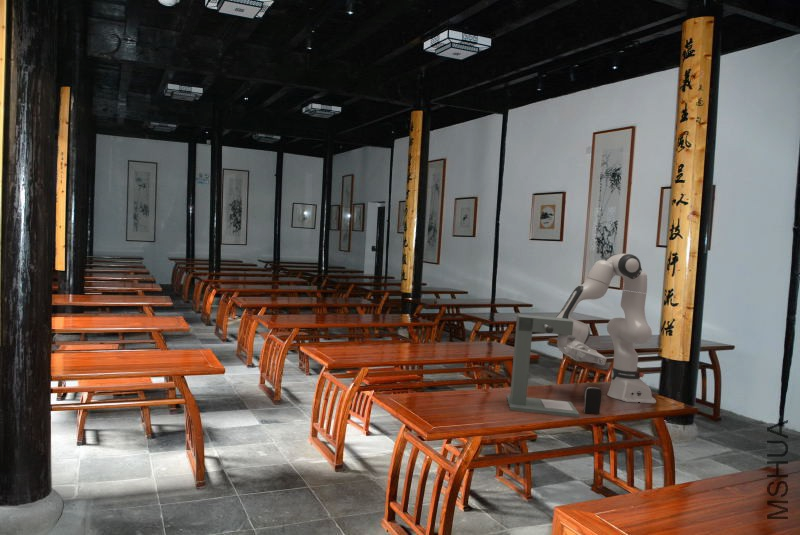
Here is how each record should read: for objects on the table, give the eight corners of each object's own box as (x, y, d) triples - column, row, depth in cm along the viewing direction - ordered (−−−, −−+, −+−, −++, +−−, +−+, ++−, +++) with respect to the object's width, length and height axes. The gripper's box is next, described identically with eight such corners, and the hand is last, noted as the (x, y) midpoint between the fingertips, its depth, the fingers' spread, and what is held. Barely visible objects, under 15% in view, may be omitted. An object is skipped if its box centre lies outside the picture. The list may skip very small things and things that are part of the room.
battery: (597, 412, 261) (599, 386, 261) (600, 414, 257) (602, 388, 257) (581, 410, 261) (583, 385, 260) (584, 413, 257) (586, 387, 257)
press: (570, 404, 270) (578, 318, 268) (582, 422, 242) (591, 326, 241) (506, 398, 273) (514, 312, 271) (511, 415, 245) (519, 320, 243)
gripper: (562, 339, 279) (576, 346, 265) (598, 351, 283) (614, 358, 270) (557, 351, 279) (571, 359, 266) (594, 363, 284) (609, 371, 270)
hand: (593, 359), depth 268 cm, fingers open, 8 cm apart
